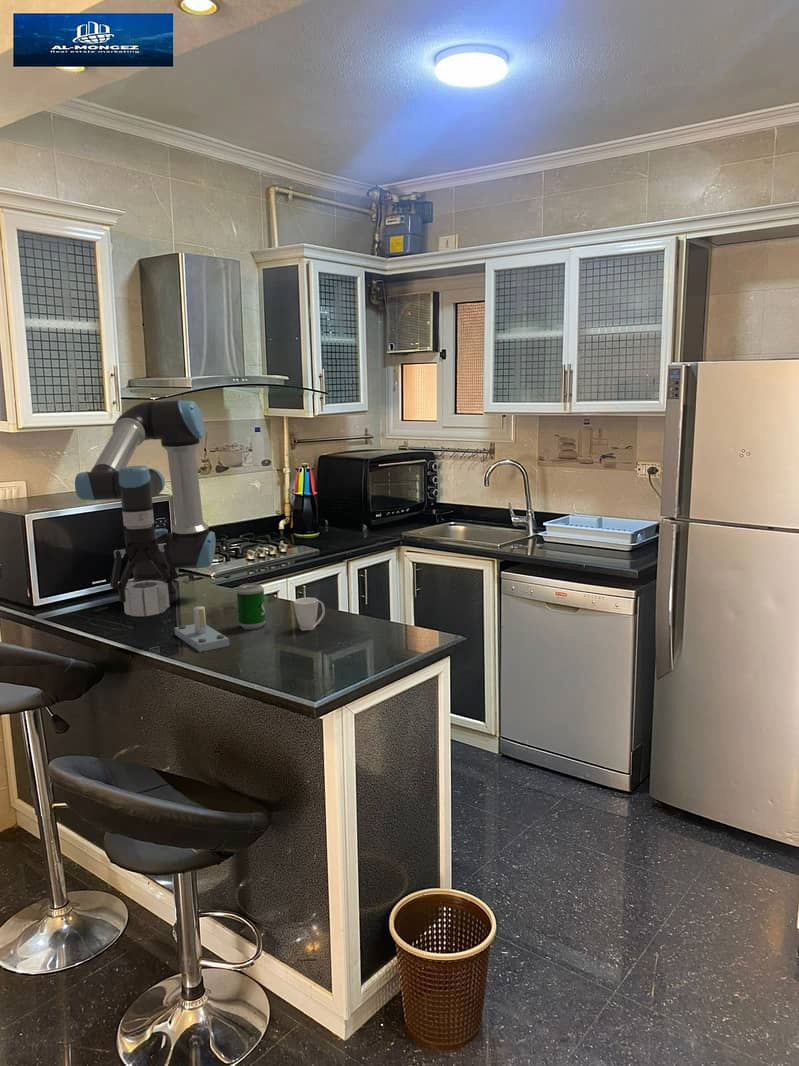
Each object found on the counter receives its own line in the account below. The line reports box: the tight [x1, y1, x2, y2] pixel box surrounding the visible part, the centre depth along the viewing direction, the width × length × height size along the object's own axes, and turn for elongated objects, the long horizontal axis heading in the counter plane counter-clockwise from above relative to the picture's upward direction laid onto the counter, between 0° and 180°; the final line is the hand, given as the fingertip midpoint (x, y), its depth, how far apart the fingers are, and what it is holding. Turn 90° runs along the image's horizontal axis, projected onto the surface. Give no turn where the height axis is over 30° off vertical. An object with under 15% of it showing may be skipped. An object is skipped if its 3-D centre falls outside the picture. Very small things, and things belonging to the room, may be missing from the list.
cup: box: [292, 597, 326, 631], centre depth 221 cm, size 7×10×8 cm
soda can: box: [236, 582, 267, 630], centre depth 223 cm, size 8×8×12 cm
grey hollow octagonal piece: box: [125, 580, 168, 617], centre depth 207 cm, size 10×10×7 cm
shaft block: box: [174, 606, 230, 653], centre depth 212 cm, size 20×8×9 cm, turn 34°
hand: (147, 609), depth 207 cm, fingers closed on grey hollow octagonal piece, 9 cm apart
